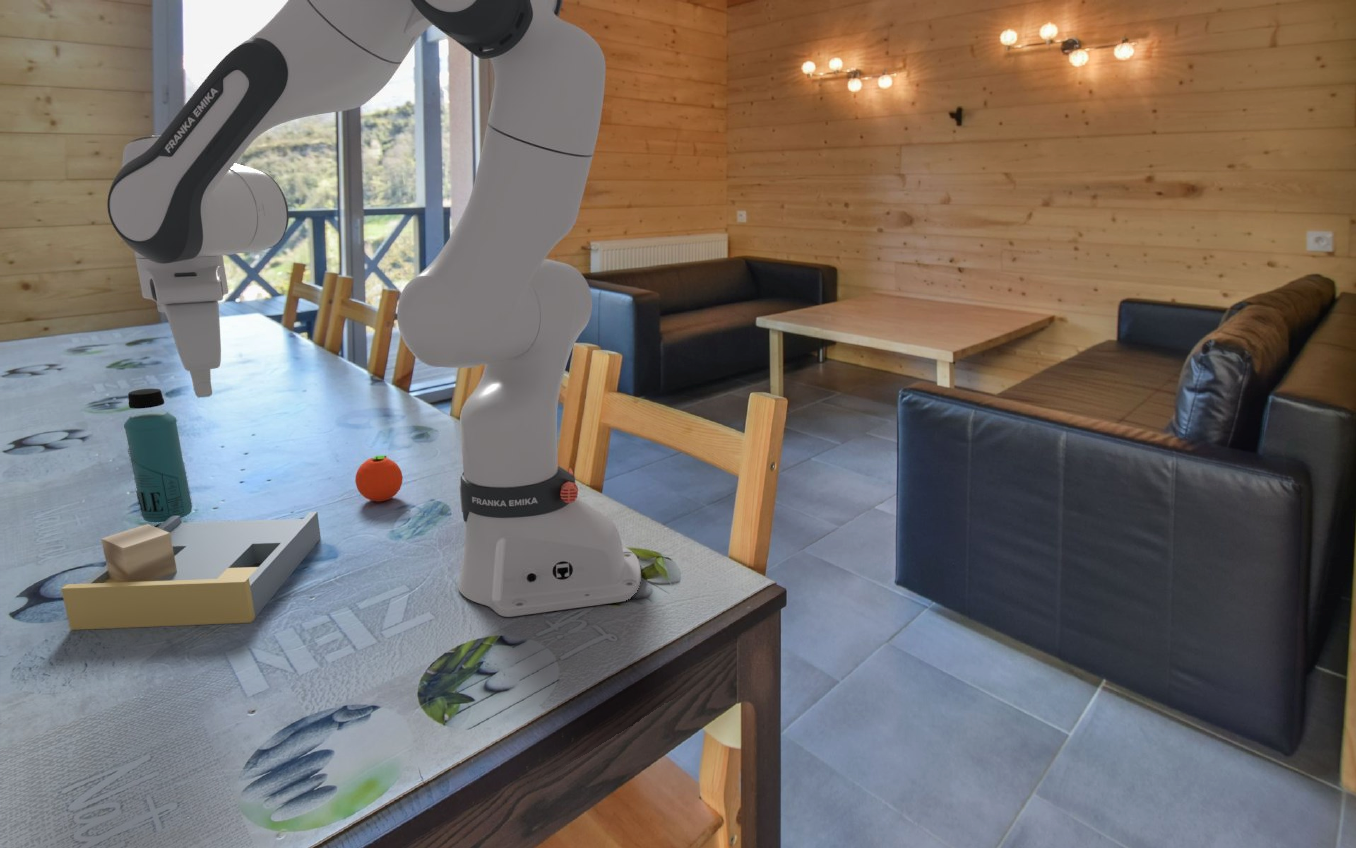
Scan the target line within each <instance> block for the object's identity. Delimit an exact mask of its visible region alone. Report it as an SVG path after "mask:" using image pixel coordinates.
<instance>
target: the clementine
mask: <svg viewBox="0 0 1356 848" xmlns="http://www.w3.org/2000/svg"><path fill="white" fill-rule="evenodd" d="M354 478H355V485H356V488H357V490H358V492H359V495H361V496H362V497H364V499H367V500H369V501H372V502H384V501H388V500H391V499H392V498H393V497H394V496H396V495H397V493H399V492H400V490H401V488H402V484H403V472H402V470H401V467H399V465H398V463H397V462H395V461H394V460H392V459H391V458H390V459H389V458H388V457H387V455H376V456H374V457H371V458H368V459H367V460H366V461H364V462H363V463H361V465H360V466H359V467H358V469H357V471H356V474H355V477H354Z"/></svg>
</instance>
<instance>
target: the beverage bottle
mask: <svg viewBox="0 0 1356 848" xmlns="http://www.w3.org/2000/svg"><path fill="white" fill-rule="evenodd" d="M127 395H128V398H127V399H128V407H129V408H130V409H135V410H136V409H148V408H149V409H151V408H155V407H159V406H162V405H164V404H165V399H164V396H163V393H162V390H161V389H160V388H142V389H135V390H132V391H129V392H128V394H127ZM123 427H124V431H125V434H126V440H127V446H126V447H128V449H127V452H128V455H129V461H130V466H131V468H132V471H133V480H134V482H133V483H135V492H136V497H137V504H138V506H139V507H138V508H139V512H140V517H142V518H143V520H144V521H145V522H148V523H163V522H165V521H166V520H168V519H169V518H170V517H172V516H180V518H181V519H182V518H185V517H186V516H189V514H190V513H191V512H192V510H193V509H192V507H193V506H194V505H193V500H192V497H191V496H192V494H191V487H190V485H189V480H188V475H187V469H186V464H185V462H184V459H183V453H182V446H181V443H180V441H181V440H180V438H179V436H180V435H179V430H178V425H177V418H176V417H175V416H174V415H172V414H170V413H169V412H167V411H165V410H159V409H158V410H147V411H141V412H138V413H137V412H136V413H134V414H131V416H130V417H128V419H127V420H126V421H125V422H124V424H123Z"/></svg>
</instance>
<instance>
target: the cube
mask: <svg viewBox="0 0 1356 848" xmlns="http://www.w3.org/2000/svg"><path fill="white" fill-rule="evenodd" d="M157 527H158V526H157ZM157 527H156V526H154V525H151V524H149V523H146V524H143V525H140V526H137V527H134V528H130V529H126V530H124V531H121V532H118V533H113V534H111V535H108V536H105V537H102V538H101V539H100V540H101V545H102V549H103V555H104V559H105V563H106V565H107V569H108V574H109V578H110V579H112V580H114V581H116V582H145V581H154V580H157V579H160V578H162V577H165V576H168V575H170V574H173V573H176V572H177V568H176V563H175V557H174V552H173V546H172V541H171V535H170V533H169V532H167V531H164V530H162V529H159V528H157Z"/></svg>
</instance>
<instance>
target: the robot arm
mask: <svg viewBox="0 0 1356 848" xmlns="http://www.w3.org/2000/svg"><path fill="white" fill-rule="evenodd" d="M562 7H563V0H287V1H286V3H285V4H284V5H283V7H282V8H281V9H280V10H279V11H278V12H277V13H276V14H275V15H274V17H272V18H271V20H269V22H267V24H265V25H264V26H263V27H262V28H261V29H260V30H259V31H258V32H256V33H255V34H253V35H252V36H251V37H250V38H248V39H247V40H244V42H242V43H240V44H238V46H236V47H235V48H234V49H232V50H231V51H229V53H228V54H227V55H226V56H224V57H223V59H221V61H220V62H218V64H217V65H216V66H215V67H214V68H213V69H212V71H211V72H210V73H209V74H208V76H207V77H206V78H205V79H204V80H203V82H202V83H201V84H200V85H199V87H198V88H197V89H196V90H195V92H194V93H193V94H192V95H191V97H190V98H189V100H187V102H186V103H185V104H184V106H183V107H182V108H181V109H180V111H179V112H178V113H177V115H175V117H174V118H173V119H172V121H171V122H170V123H169V125H168V126H167V127H166V128H165V130H164V131H163V132H162V133H161V134H160V135H148V136H142V137H138V138H136V139H134V140H131V141H130V142H129V143H127V144H126V145H125V146H124V148H123V153H122V160H121V169H120V170H119V171H118V173H117V174H116V175H115V178H114V179H113V181H112V183H111V185H110V188H109V190H108V195H107V202H106V204H107V214H108V217H109V220H110V222H111V225H112V226H113V229H114V230H115V232H116V233H117V234H118V236H119V237H120V238H121V239H122V240H123V242H124V243H125V244H126V245H127V246H129V247H130V248H131V249H133V251H134V257H135V262H136V268H137V273H138V278H139V284H140V289H141V295H142V297H143V298H144V299H146V300H152V301H153V302H156V306H157V307H156V308H157V312H159V313H163V314H165V315H166V319H167V320H168V324H169V327H170V331H171V333H172V336H173V340H174V343H175V346H176V348H177V353H178V355H179V359H180V361H181V364H182V366H183V368H184V370H185V371H187V372H189V374H190V377H191V382H192V383H191V384H192V387H193V391H194V394H195V396H196V397H197V398H206V397H210V396H212V395H213V387H212V382H211V370H214V369H215V370H216V369H218V368H220V367H221V361H222V346H221V345H222V344H221V326H220V325H221V323H220V306H219V302H221V301H223V299H224V296H225V295H227V294H229V288H228V282H227V274H226V268H225V267H226V266H225V262H224V256H231V255H236V254H249V253H257V252H262V251H265V250H267V249H271V248H274V247H276V246H277V245H278V244H279V243H280V242H281V241H282V240H283V238H284V236H285V235H286V232H287V229H288V225H289V221H290V220H289V218H290V217H289V214H290V213H289V207H288V201H287V199H286V197H285V194H284V192H283V190H282V189H281V186H280V185H279V184H278V183H277V181H276V180H275V179H274V178H272V176H271V175H269V173H266V172H264V171H262V170H259V169H254V168H251V167H249V166H245V165H241V164H238V163H236V162H237V161H238V160H239V159H240V158H241V157H242V156H243V155H244V153H245V152H246V151H247V150H248V148H249V147H250V146H251V144H253V142H254V141H255V140H256V139H258V138H259V136H261V135H262V134H264V133H265V132H267V131H269V130H271V129H272V128H275V127H277V126H279V125H282V124H285V123H287V122H291V121H294V120H298V119H302V118H306V117H312V116H317V115H318V116H319V115H323V114H331V113H338V112H339V113H340V112H345V111H350V110H354V109H357V108H360V107H361V106H364V105H365V104H366V103H367V102H369V101H370V100H372V99H373V98H375V96H377V94H378V93H380V91H382V90H383V89H384V87H386V85H387V84H388V83H389V82H390V81H391V79H392V78H393V76H394V75H395V73H396V72H397V70H398V69H399V67H400V66H401V64H402V63H403V61H404V60H405V59H406V57H407V56H408V54H409V52H410V51H411V50H412V48H413V46H414V45H415V43H416V42H417V41H418V40H419V39H420V36H422V34H423V33H424V32H425V31H426V30H427V29H429V28H430V27H432V26H434V27H435V28H437V29H438V30H440V31H441V32H442V33H444V34H445V35H446V36H448V37H449V38H451V39H452V40H454V41H455V42H456V43H458V44H459V45H460V46H461V47H463V48H464V49H465V50H467V51H468V52H470V54H472V55H473V56H475V57H477V58H478V59H482V60H487V59H489V61H490V62H491V64H492V67H493V73H494V84H493V93H492V97H491V99H492V100H491V105H490V109H489V113H488V117H487V118H488V119H487V123H486V128H485V133H484V138H483V142H482V148H481V152H480V156H479V161H478V165H477V168H476V174H475V178H474V183H473V187H472V190H471V193H470V196H469V199H468V202H467V204H466V207H465V209H464V211H463V213H462V215H461V217H460V219H459V221H458V222H457V225H456V226H455V228H454V230H453V231H452V233H451V235H450V237H449V238H448V240H447V242H446V243H445V244H444V246H443V248H442V249H441V250H440V252H439V253H438V255H437V256H436V257H435V258H434V259H433V261H431V263H430V264H429V265H428V266H426V268H424V269H423V270H422V271H421V272H420V273H418V275H416V276H415V277H413V278H412V279H411V280H409V281H408V283H406V285H404V287H403V290H402V292H401V294H400V297H399V300H398V303H397V310H396V311H397V315H396V317H397V319H396V320H397V325H398V329H399V333H400V336H401V339H402V340H403V342H404V344H405V346H406V347H407V349H408V350H409V352H410V353H412V355H413V356H414V357H415V358H416V359H417V360H419V361H420V362H421V363H423V364H424V365H427V366H430V367H434V368H450V369H451V368H452V369H453V368H454V369H455V368H457V369H462V368H463V369H465V368H466V369H468V368H469V369H471V368H477V367H479V366H480V367H481V366H484V368H483V369H484V370H483V372H482V375H481V378H480V380H479V382H478V384H477V386H476V387H475V389H474V390H473V392H472V393H471V394H470V395H469V397H468V398H467V399H466V400H465V402H464V404H463V405H462V408H461V411H460V414H459V424H460V425H459V426H460V428H459V429H460V440H461V441H460V442H461V455H462V469H463V472H462V475H461V476H460V477H459V478H460V483H459V496H460V497H459V498H460V507H461V513H462V518H463V522H464V523H465V525H464V527H465V529H464V544H463V545H464V546H463V554H462V561H461V568H460V572H459V576H458V580H457V589H458V590H459V592H460V594H461V595H462V596H464V597H465V598H466V599H468V600H470V601H472V602H475V603H477V604H480V605H484V606H486V607H489V608H490V609H492V611H494V612H495V613H497V615H499V616H502V617H504V618H505V617H506V618H511V617H518V616H525V615H533V614H541V613H548V612H554V611H562V610H570V609H577V608H585V607H592V606H601V605H606V604H613V603H615V604H616V603H621V602H626V600H627V601H629V600H630V599H631V597H632V596H633V595H634V594H635V593H638V591H639V589H640V587H639V585H640V586H641V584H640V582H641V583H642V572H641V571H642V570H641V569H642V568H641V564H640V560H639V558H638V557H637V555H636V554H635V553H634V552H633V551H632V550H631V549H630V548H628V547H625V546H623V544H622V539H621V536H620V533H619V531H618V529H617V526H616V524H615V523H614V521H613V520H612V518H610V517H609V516H608V515H606V514H604V513H602V512H601V511H600V510H597V509H596V508H595V507H593V506H591V505H590V504H589V503H586V501H583V500H582V499H581V498H578V495H579V493H578V492H579V488H578V485H577V484H576V477H575V475H574V472H573V469H572V468H571V467H569V469H568V471H567V469H566V470H565V469H564V468H562V467H560V466H559V464H558V427H557V426H558V405H559V397H560V392H561V388H562V384H563V380H564V376H565V371H566V368H567V364H568V361H569V359H570V356H571V353H572V350H573V348H574V345H575V343H576V341H577V340H578V339H579V337H580V335H582V334H581V333H582V332H583V331H584V330H585V328H586V327H587V326H588V324H589V322H590V319H591V316H592V312H593V298H592V297H593V296H592V291H591V289H590V285H589V283H588V281H587V279H586V278H585V276H584V275H583V274H582V273H581V272H580V271H579V270H578V269H577V268H576V267H574V266H572V265H571V264H568V263H566V262H561V261H558V260H554V259H547V256H548V255H549V254H550V252H551V251H552V250H553V248H554V247H555V246H556V245H558V243H559V242H561V241H562V240H563V239H564V238H565V237H566V236H567V235H568V234H569V233H570V232H571V230H572V229H573V227H574V225H576V221H577V220H578V216H579V212H580V207H581V204H582V200H583V197H584V192H585V189H586V185H587V179H588V176H589V173H590V169H591V165H592V161H593V157H594V153H595V148H596V145H597V140H598V135H599V130H600V125H601V121H602V120H601V119H602V112H603V106H604V97H605V87H606V85H605V84H606V70H607V69H606V68H607V67H606V66H607V65H606V59H605V55H604V52H603V50H602V48H601V47H600V45H599V43H598V42H597V41H596V40H595V39H594V38H593V37H592V36H591V35H589V34H588V32H586V31H585V30H583V29H582V28H580V27H579V26H578V25H577V26H576V25H575V24H572V23H570V22H568V21H565V20H563V19H561V18H560V17H559V15H560V13H561V10H562ZM638 588H639V589H638ZM637 590H638V591H637ZM635 595H636V594H635ZM635 595H634V596H635ZM634 596H633V597H634ZM633 597H632V598H633ZM628 599H629V600H628Z"/></svg>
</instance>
